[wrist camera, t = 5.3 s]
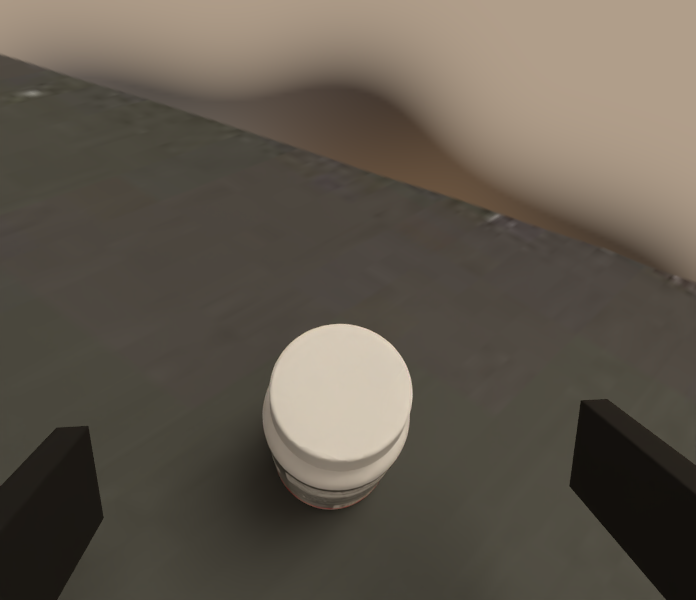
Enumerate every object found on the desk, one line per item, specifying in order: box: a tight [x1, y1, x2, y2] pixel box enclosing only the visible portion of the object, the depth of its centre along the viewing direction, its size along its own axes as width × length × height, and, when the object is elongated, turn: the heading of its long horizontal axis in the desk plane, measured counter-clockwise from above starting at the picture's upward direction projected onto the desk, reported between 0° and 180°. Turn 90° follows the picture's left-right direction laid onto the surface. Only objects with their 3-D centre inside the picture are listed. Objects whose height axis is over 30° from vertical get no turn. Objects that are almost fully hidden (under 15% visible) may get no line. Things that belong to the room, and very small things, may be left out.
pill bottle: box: [262, 324, 413, 510], centre depth 17 cm, size 5×5×8 cm
